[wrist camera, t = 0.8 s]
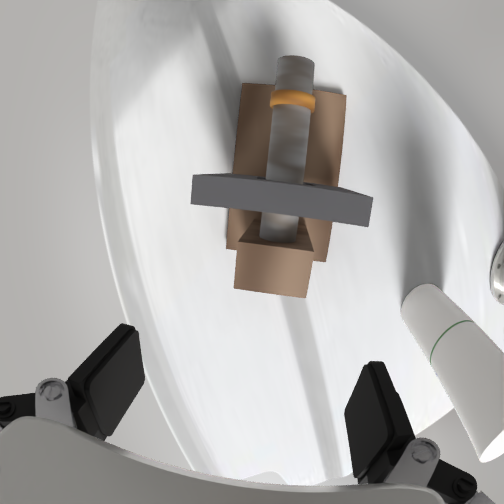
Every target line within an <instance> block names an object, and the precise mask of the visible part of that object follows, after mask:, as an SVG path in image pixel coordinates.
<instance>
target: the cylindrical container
mask: <svg viewBox="0 0 504 504" xmlns="http://www.w3.org/2000/svg"><path fill="white" fill-rule="evenodd" d="M401 317H402V320H403V322H404V324H405V325H406V327H407V328H408V330H409V331H410V333H411V334H412V336H413V338H414V339H415V341H416V342H417V344H418V345H419V347H420V349H421V350H422V352H423V354H424V355H425V357H426V358H427V360H428V362H429V363H430V365H431V367H432V368H433V370H434V372H435V374H436V375H437V377H438V379H439V380H440V382H441V384H442V386H443V388H444V389H445V391H446V393H447V395H448V397H449V398H450V400H451V402H452V404H453V406H454V408H455V409H456V412H457V414H458V416H459V417H460V419H461V421H462V423H463V425H464V427H465V429H466V432H467V434H468V436H469V438H470V440H471V442H472V444H473V447H474V448H475V451H476V453H477V455H478V458H479V460H480V462H488V461H490V460H493V459H495V458H497V457H498V456H500V455H502V454H503V453H504V353H503V352H502V351H501V350H500V349H499V347H498V346H497V345H496V344H495V343H494V342H493V341H492V340H491V339H490V338H489V337H488V336H487V335H486V333H485V332H484V331H483V330H482V329H481V328H480V327H479V326H478V325H477V324H476V323H475V322H474V321H473V320H472V319H471V318H470V317H469V316H468V315H467V314H466V313H465V312H464V311H463V310H462V309H461V308H459V307H458V306H457V305H456V304H455V303H454V302H453V301H452V300H451V299H450V298H449V297H448V296H447V295H446V294H445V293H443V292H442V291H441V290H440V289H439V288H438V287H437V286H435V285H433V284H422V285H419V286H417V287H415V288H414V289H413V290H412V291H411V292H410V293H409V294H408V295H407V296H406V298H405V300H404V301H403V304H402V307H401Z"/></svg>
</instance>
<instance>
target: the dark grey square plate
mask: <svg viewBox="0 0 504 504" xmlns="http://www.w3.org/2000/svg"><path fill="white" fill-rule="evenodd" d="M372 202H373V197H370V196H367V195H364V194H360V193H357V192H354V191H351V190H347V189H344V188H341V187H335V186H329V185H322V184H316V183H309V182H303V184H297V183H290V182H282V181H274V180H266V177H261V176H252V175H241V174H230V173H226V174H200V175H193V179H192V192H191V204H194V205H205V206H214V207H224V208H233V209H242V210H251V211H259V212H267V213H275V214H283V215H290V216H298V217H305V218H312V219H319V220H326V221H332V222H339V223H345V224H352V225H358V226H364V227H368V226H369V220H370V214H371V208H372Z"/></svg>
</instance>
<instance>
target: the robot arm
mask: <svg viewBox="0 0 504 504" xmlns="http://www.w3.org/2000/svg"><path fill="white" fill-rule="evenodd" d="M490 284H491V291H492V294H493V297H494V298H495V299H496V301H498V302H499V303H500V304H502V305H504V241H503V243H502V244H501V246H500V247H499V249H498V251H497V254H496V256H495V259H494V262H493V265H492V270H491V279H490ZM144 381H145V374H144V368H143V362H142V355H141V348H140V340H139V333H138V331H136V330H135V327H134V326H130V325H127V324H123V323H122V324H120V325H119V326H118V327H117V328H116V329H115V330H114V331H113V332H112V333H111V334H110V335H109V336H108V337H107V338H106V339H105V340H104V341H103V342H102V343H101V344H100V345H99V346H98V347H97V348H96V349H95V350H94V351H93V352H92V354H91V355H90V356H89V357H88V358H87V359H86V360H85V361H84V362H83V363H82V364H81V365H80V366H79V367H78V368H77V369H76V370H75V371H74V372H73V374H72V375H71V376H70V377H69V378H68V380H67V381H66V382H64V381H62V380H61V379H57V378H49V379H45V380H43V381H42V382H40V383H39V384H38V386H37V387H36V391H35V393H30V394H22V395H13V396H4V397H1V398H0V504H495V503H494V502H493V501H492V500H491V499H490V498H488V496H486V495H485V494H484V493H483V492H482V491H480V492H479V493H478V492H477V491H476V490H477V482H476V480H475V478H474V477H473V476H472V475H470V474H469V473H467V472H464V471H462V470H460V469H458V468H456V467H454V466H452V465H450V464H448V463H446V462H444V461H442V460H441V459H439V458H440V449H439V447H438V445H437V444H436V443H435V442H434V441H432V440H430V439H427V438H417V439H416V438H415V435H414V433H413V430H412V427H411V424H410V422H409V419H408V416H407V414H406V411H405V409H404V406H403V403H402V401H401V398H400V396H399V394H398V393H397V392H396V390H395V388H394V386H393V383H392V381H391V378H390V376H389V373H388V371H387V369H386V366H385V364H384V362H381V361H370V362H369V363H368V365H364V367H363V369H362V371H361V374H360V376H359V379H358V381H357V383H356V386H355V388H354V390H353V392H352V395H351V397H350V399H349V401H348V403H347V406H346V408H345V412H344V416H345V422H346V428H347V434H348V440H349V447H350V454H351V461H352V468H353V475H354V477H355V478H358V484H360V485H343V486H298V485H280V484H268V483H258V482H250V481H243V480H236V479H230V478H224V477H219V476H214V475H209V474H204V473H200V472H196V471H191V470H187V469H183V468H179V467H176V466H172V465H169V464H165V463H162V462H159V461H156V460H153V459H149V458H147V457H143V456H141V455H138V454H135V453H133V452H130V451H127V450H125V449H122V448H120V447H117V446H115V445H112V444H110V443H107V442H105V439H106V437H107V436H111V435H112V434H113V432H114V430H115V429H116V427H117V426H118V424H119V422H120V421H121V419H122V417H123V416H124V414H125V413H126V411H127V409H128V408H129V406H130V405H131V403H132V402H133V400H134V398H135V397H136V395H137V394H138V392H139V390H140V389H141V387H142V386H143V384H144ZM102 440H103V441H102ZM367 483H368V484H367Z"/></svg>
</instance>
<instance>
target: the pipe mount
mask: <svg viewBox="0 0 504 504" xmlns="http://www.w3.org/2000/svg"><path fill="white" fill-rule="evenodd" d="M313 78H314V62H313V61H312V60H310V59H308V58H305V57H301V56H283V57H280V58H279V59H278V65H277V75H276V85H266V84H250V83H242V92H241V100H240V109H239V117H238V126H237V136H236V145H235V155H234V165H233V174H241V175H252V176H261V177H266V180H274V181H282V182H290V183H297V184H303V182H309V183H316V184H322V185H329V186H335V187H338V181H339V172H340V164H341V155H342V145H343V135H344V124H345V111H346V95H342V94H337V93H331V92H326V91H319V90H313ZM332 223H333V222H332V221H326V220H319V219H312V218H305V217H298V216H290V215H283V214H275V213H267V212H259V211H251V210H242V209H233V208H229V219H228V231H227V243H226V249H231V250H237V256H236V268H235V279H234V288H235V289H242V290H248V291H255V292H262V293H269V294H277V295H284V296H292V297H300V298H306V295H307V290H308V284H309V279H310V273H311V268H312V262H313V261H320V262H326V258H327V252H328V247H329V241H330V235H331V229H332Z"/></svg>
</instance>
